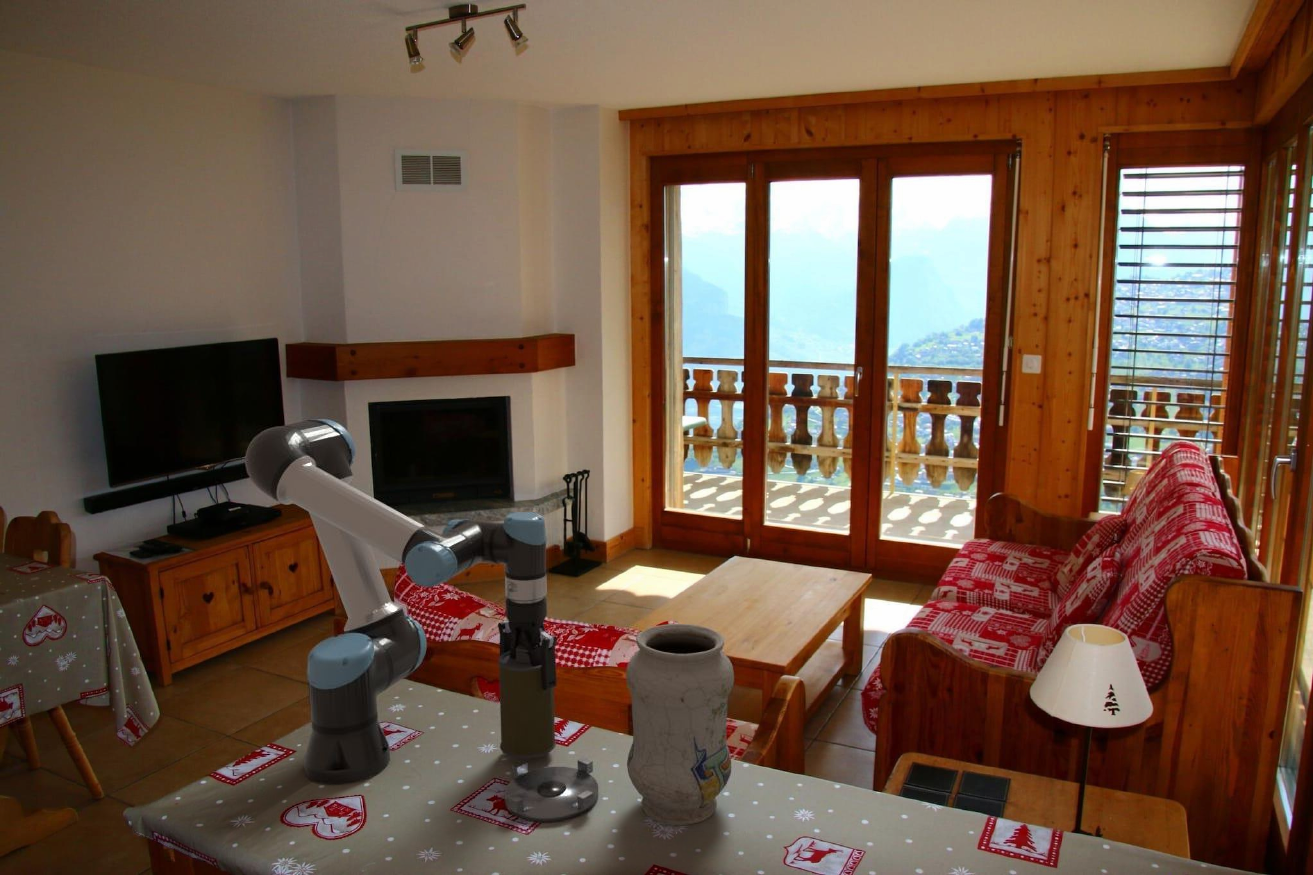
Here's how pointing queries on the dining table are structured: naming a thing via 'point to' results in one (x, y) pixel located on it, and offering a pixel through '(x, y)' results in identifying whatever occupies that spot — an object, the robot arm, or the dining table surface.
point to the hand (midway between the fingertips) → (528, 715)
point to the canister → (525, 708)
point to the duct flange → (551, 792)
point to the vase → (679, 721)
